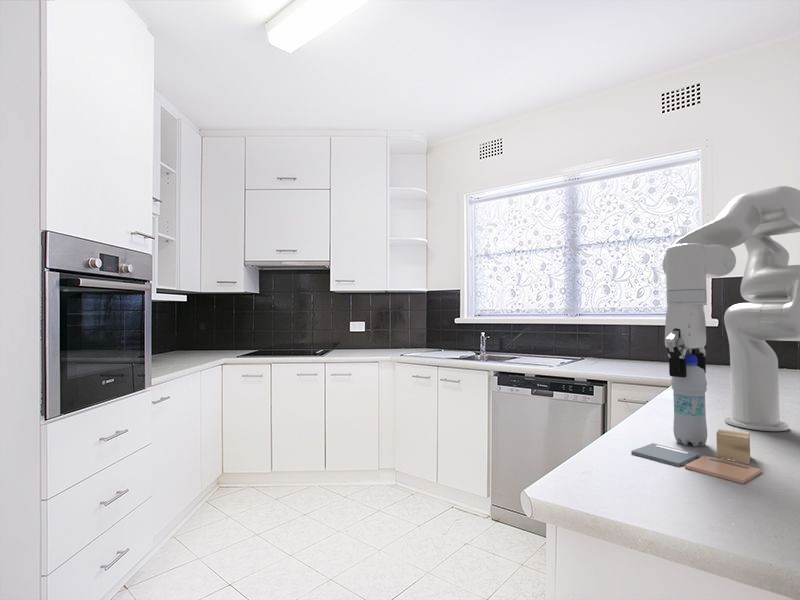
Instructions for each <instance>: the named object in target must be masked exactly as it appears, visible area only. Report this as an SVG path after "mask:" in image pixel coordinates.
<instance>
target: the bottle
mask: <svg viewBox="0 0 800 600" xmlns="http://www.w3.org/2000/svg"><path fill="white" fill-rule="evenodd" d="M684 359H686V373H687V376H686V377H685V378H682V377H673V376H671V380H670V383H671V389H672V390H673V394H672V395H673V427H672V428H673V430H672V431H673V436H674V439H675V441H676V443H677V442H678V443H679V444H683V445H685V446H688V445H689V442H691V443H692V446H693V447H695V446H696V447H698V446H699V445H700V446H699V447H703V446H705V445H706V443H707V439H708V426H707V419H706V418H707V417H706V416H707V414H706V411H707V410H706V409H707V408H706V392H707V390H708V388H707V387H708V386H707V385H708V382H707V377H706V373H705V371H704V369H702V368H700V367H698V366H696V365H697V357H696V356H695V355H691V354H690V353H686V354H685V356H684Z"/></svg>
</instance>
